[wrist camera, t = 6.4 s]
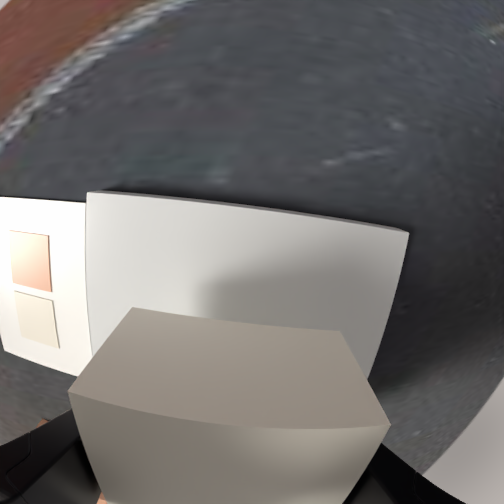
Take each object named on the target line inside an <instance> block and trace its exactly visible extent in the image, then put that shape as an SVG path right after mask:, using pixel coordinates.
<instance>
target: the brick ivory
mask: <svg viewBox="0 0 504 504" xmlns="http://www.w3.org/2000/svg"><path fill="white" fill-rule="evenodd" d="M68 395H69V399H70V403H71V406H72V410H73V413H74V417H75V420H76V424H77V427H78V430H79V433H80V436H81V439H82V442H83V445H84V448H85V451H86V453H87V456H88V459H89V462H90V464H91V467H92V469H93V472H94V474H95V477H96V479H97V482H98V484H99V486H100V489H101V491H102V493H103V495H104V498H105V500H106V502H107V504H342V503H343V502H344V500H345V499H346V498H347V496H348V495H349V493H350V492H351V490H352V489H353V487H354V486H355V484H356V483H357V481H358V480H359V478H360V477H361V475H362V474H363V472H364V470H365V469H366V467H367V466H368V464H369V462H370V461H371V459H372V457H373V456H374V454H375V452H376V451H377V449H378V447H379V445H380V444H381V442H382V440H383V438H384V437H385V435H386V433H387V431H388V429H389V427H390V425H391V424H390V422H389V420H388V418H387V416H386V414H385V413H384V411H383V409H382V407H381V405H380V403H379V401H378V399H377V398H376V396H375V394H374V392H373V390H372V388H371V386H370V385H369V383H368V381H367V379H366V377H365V375H364V374H363V372H362V370H361V368H360V366H359V364H358V363H357V361H356V359H355V357H354V355H353V354H352V352H351V350H350V348H349V346H348V345H347V343H346V341H345V339H344V337H343V336H342V334H341V332H340V331H332V330H318V329H304V328H292V327H281V326H270V325H260V324H251V323H241V322H233V321H224V320H216V319H209V318H201V317H194V316H187V315H180V314H173V313H166V312H160V311H154V310H148V309H142V308H136V307H132V308H131V309H130V310H129V312H128V313H127V314H126V315H125V317H124V318H123V319H122V320H121V322H120V323H119V324H118V325H117V327H116V328H115V329H114V330H113V332H112V333H111V334H110V335H109V337H108V338H107V339H106V341H105V342H104V343H103V344H102V346H101V347H100V348H99V350H98V351H97V352H96V354H95V355H94V356H93V358H92V359H91V360H90V361H89V363H88V364H87V365H86V367H85V368H84V369H83V371H82V372H81V373H80V375H79V376H78V378H77V379H76V380H75V382H74V383H73V384H72V386H71V387H70V388H69V390H68Z"/></svg>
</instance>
